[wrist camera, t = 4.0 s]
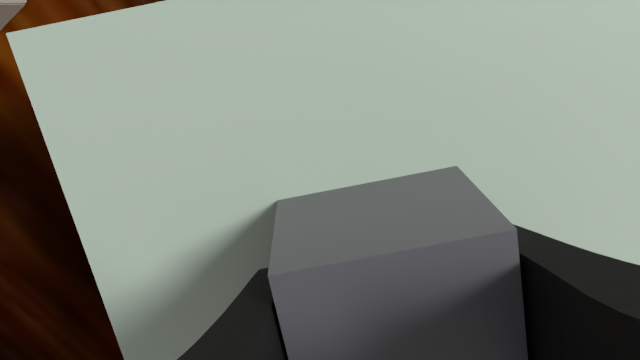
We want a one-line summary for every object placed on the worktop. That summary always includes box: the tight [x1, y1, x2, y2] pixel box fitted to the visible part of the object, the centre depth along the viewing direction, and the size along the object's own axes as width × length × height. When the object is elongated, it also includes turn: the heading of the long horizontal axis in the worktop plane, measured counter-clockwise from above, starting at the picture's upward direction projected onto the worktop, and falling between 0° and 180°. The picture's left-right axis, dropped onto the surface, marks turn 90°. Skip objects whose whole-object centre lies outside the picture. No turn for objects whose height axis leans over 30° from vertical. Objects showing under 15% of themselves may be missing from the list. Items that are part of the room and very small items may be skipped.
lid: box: [6, 0, 640, 360], centre depth 11 cm, size 13×13×4 cm
